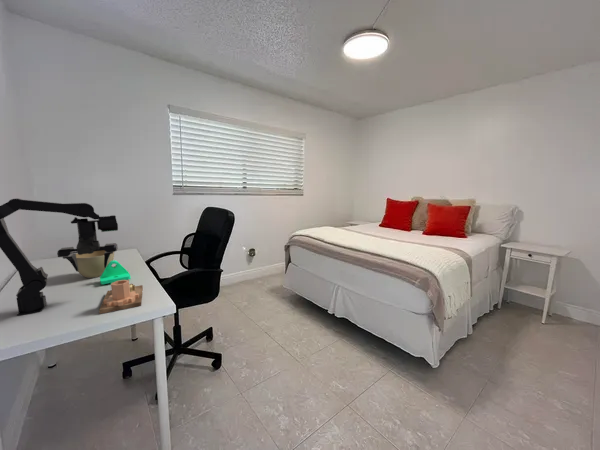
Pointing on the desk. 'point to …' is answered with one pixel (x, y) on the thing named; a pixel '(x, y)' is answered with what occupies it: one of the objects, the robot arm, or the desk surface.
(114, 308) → the carrier
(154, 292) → the desk surface
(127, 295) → the gear
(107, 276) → the camera mount
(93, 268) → the tan bowl
